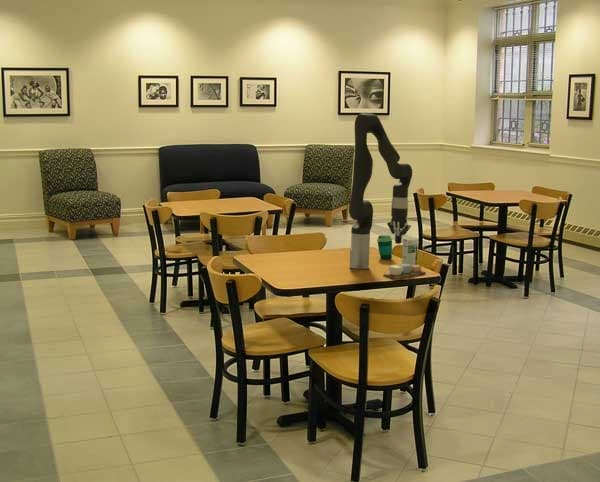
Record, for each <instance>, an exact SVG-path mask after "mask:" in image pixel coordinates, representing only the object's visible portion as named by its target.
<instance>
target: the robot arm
mask: <svg viewBox="0 0 600 482" xmlns="http://www.w3.org/2000/svg"><path fill="white" fill-rule="evenodd" d="M368 134H371V135H373V136H374V137H375V139H376V140H377V149H378V152H379V154H380V156H381V157H382V159H383V161H384V162H385V163H386V166H387V170H388V172H389V175H390V176H391V177H392V178H393V179H394V180H399V181H398V183H396V184H394V185H392V186H393V187H392V198H391V213H390V214H391V215H390V216H391V220H390V221H389V222H387V226H388V229H389V230H390V232H391V234H393V235H394V242H395V244H397V245H400V244H401V243H403V236H405V235H407V233H408V231H409V230H410V229H411V227H412V225H410V224H408V220H407V218H408V214H409V213H408V211H409V198H408V197H409V187H410V184H411V181H412V177H413V168H412V166H411V165H410V164H409V163H399V161H400V160H401V157H400V154H399V153H398V151H397V150H396V148H395V147H394V146H393V144H392V143H391V141H390V138H389V137H388V135H387V132H386V129H385V128H384V126H383V124H382V122H381V119H380V117H378V115H376V114H374V113H359V114H358V115H357V116H356V117H355V121H354V154H353V155H354V158H353V166H352V167H353V169H352V170H353V171H352V172H353V173H352V182H351V184H352V185H351V192H350V198H349V205H348V214H349V216H350V218H351V219H352V220H353V221H356V222H355V224H354V225H352V226H351V231H350V233H351V236H350V249H349V269H350V268H351V269H355V270H365V269H369V267H370V249H371V248H370V245H371V243H370V241H371V229H372V226H373V218H374V217H373V216H374V208H373V204H372V203H371V202H370V201H369V200H366V199H365V200H364V196H365V195H364V194H365V191H366V189H367V187H368V185H369V183H370V181H371V179H372V175H373V169H374V168H373V167H374V165H373V164H374V160H373V156H372V154H371V152H370V150H369V147H368V142H367V141H368V138H367V137H368Z"/></svg>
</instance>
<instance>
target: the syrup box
mask: <svg viewBox="0 0 600 482" xmlns="http://www.w3.org/2000/svg"><path fill="white" fill-rule="evenodd" d="M418 240H419V239H418V238H416V237H402V254H401V255H402V257H401V258H402V260H401V261H402V262H401V264H409V265H413V264H414V265H418V246H419V245H418V242H419V241H418Z"/></svg>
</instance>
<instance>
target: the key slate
mask: <svg viewBox="0 0 600 482" xmlns="http://www.w3.org/2000/svg"><path fill="white" fill-rule="evenodd" d="M397 266H402V267H403V271H402V272H401V273H405V274H406V273H411V269H412V265H409V264H402V263H401V264H397Z"/></svg>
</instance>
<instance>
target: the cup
mask: <svg viewBox="0 0 600 482" xmlns="http://www.w3.org/2000/svg"><path fill="white" fill-rule="evenodd" d="M376 242H377V247H378V254H379V256H380V257H379V259H380V260H383V261H390V260H392V259H393V257H392V256H393V255H392V254H393V237H392V236H391V235H386V234H385V235H382V234H381V235H378V237H377V239H376Z"/></svg>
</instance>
